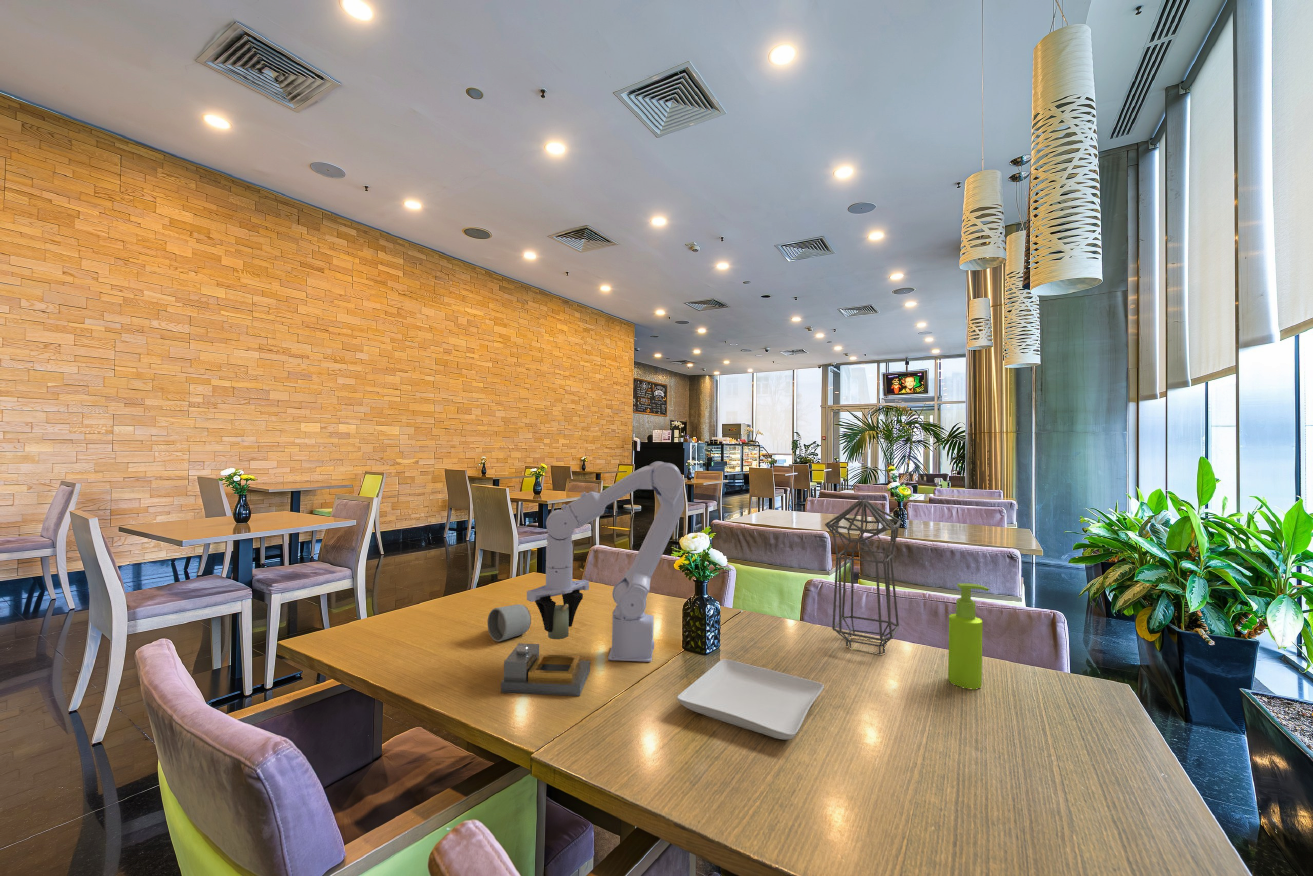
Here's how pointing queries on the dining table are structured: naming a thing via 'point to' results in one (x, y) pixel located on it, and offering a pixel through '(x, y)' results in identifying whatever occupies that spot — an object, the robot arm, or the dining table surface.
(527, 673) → the assembly fixture
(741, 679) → the salad plate
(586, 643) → the dining table surface
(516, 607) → the grey hollow cylinder
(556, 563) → the robot arm
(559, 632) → the spout can
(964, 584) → the soap dispenser
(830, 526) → the geometric lantern
